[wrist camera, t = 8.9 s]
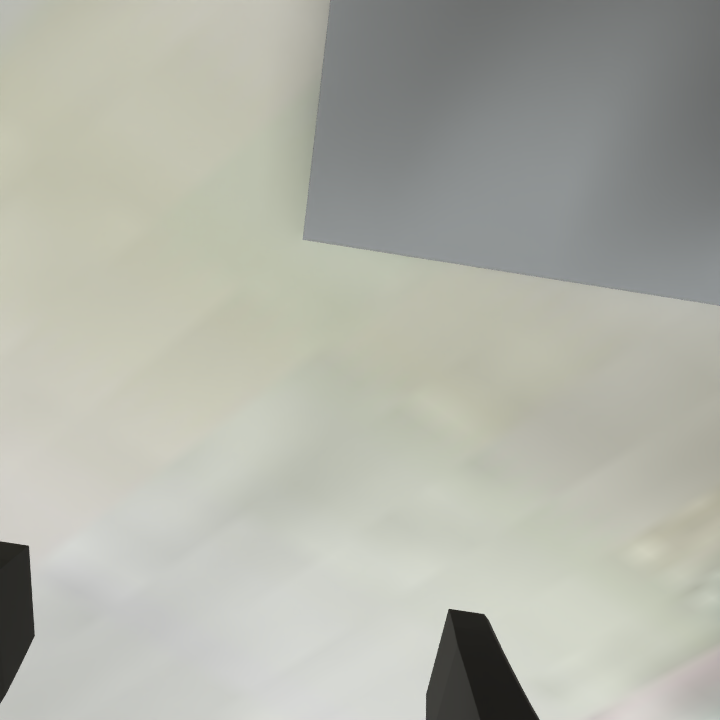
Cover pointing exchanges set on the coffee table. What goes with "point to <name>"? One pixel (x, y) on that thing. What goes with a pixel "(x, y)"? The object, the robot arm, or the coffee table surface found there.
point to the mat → (526, 138)
